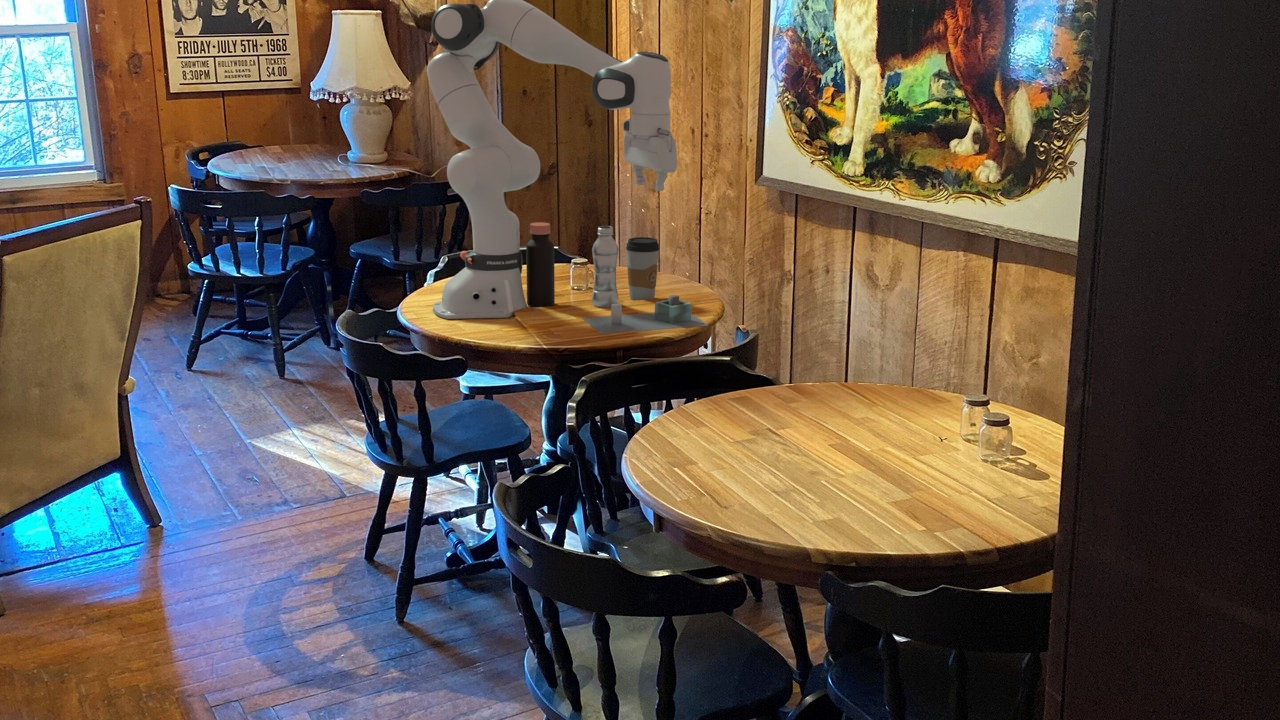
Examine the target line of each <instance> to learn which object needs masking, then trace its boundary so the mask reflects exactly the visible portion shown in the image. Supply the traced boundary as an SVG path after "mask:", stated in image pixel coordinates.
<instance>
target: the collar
mask: <svg viewBox="0 0 1280 720" xmlns="http://www.w3.org/2000/svg"><path fill="white" fill-rule="evenodd" d="M654 313H655V319H656V320H660V321H663V322H666V323H669V324H676V323H680V322H685V321H690V320H691V314H692V303H691V302H688V301H684V300H681V299H679V305H675V306H671V305H669V299H664V300H660V301H655V302H654Z"/></svg>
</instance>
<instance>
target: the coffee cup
mask: <svg viewBox="0 0 1280 720" xmlns="http://www.w3.org/2000/svg"><path fill="white" fill-rule="evenodd" d="M625 247H626V248H625V249H626V259H627V281H628V293H629V294H628V295H629V297H630V300H632V301H647V300H649V301H650V300H654V298H655V296H656V286H657V279H658V277H657V276H658V266H659V265H658V262H659V261H658V260H659V251H660V243H658V239H657V238H653V237H647V236H645V237H644V236H640V237H639V236H638V237H631V238H628V239H627V243H626V246H625Z"/></svg>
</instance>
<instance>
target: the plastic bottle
mask: <svg viewBox="0 0 1280 720" xmlns="http://www.w3.org/2000/svg"><path fill="white" fill-rule="evenodd" d="M597 235H598V236H597V238H596V239H595V242H593V245H592V248H591V252H592V259H593V271H594V273H593V274H594V279H593V289H592V294H591V301H592V305H593V306H594V307H595V308H596V307H597V308H602V309H603V308H605V309H606V308H611V304H619V303H618V302H619V293H618V287H617V264H618V256H619V246H618V244H617V242H616V240H615V239H614V238H613V236H614V227H613V226H611V225H600V226H598V227H597Z"/></svg>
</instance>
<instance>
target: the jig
mask: <svg viewBox="0 0 1280 720" xmlns="http://www.w3.org/2000/svg"><path fill="white" fill-rule="evenodd" d="M668 300H669V305H671V306H675V305H679V300H680V295H677V294H676V295H674V294H673V295H669V296H668ZM622 306H623V305H622V304H621V303H617V304H611V307H610V316H609V315H608V316H595V317H583V318H582V320H584V321H585V322H586V324H589V326H591V327H592V328H593V329H594V330H595V331H596V332H597V333H598V334H600V335H605V334H607V335H608V334H619V333H630V332H644V331H655V330H658V331H659V330H668V329H679V328H680V329H683V328H694V327H705V326H707V327H708V326H710V325H709V324H707V323H706V322H705V321H703V320H702V319H700V318H698V317H697V316H696V315H694V314H692V313H691V320H690V321H685V322H680V323H676V324H669V323H666V322H663V321H660V320H656V319H655V312H650V313H637V314H635V313H634V314H623V315H622V310H623V309H622V308H623V307H622Z"/></svg>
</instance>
